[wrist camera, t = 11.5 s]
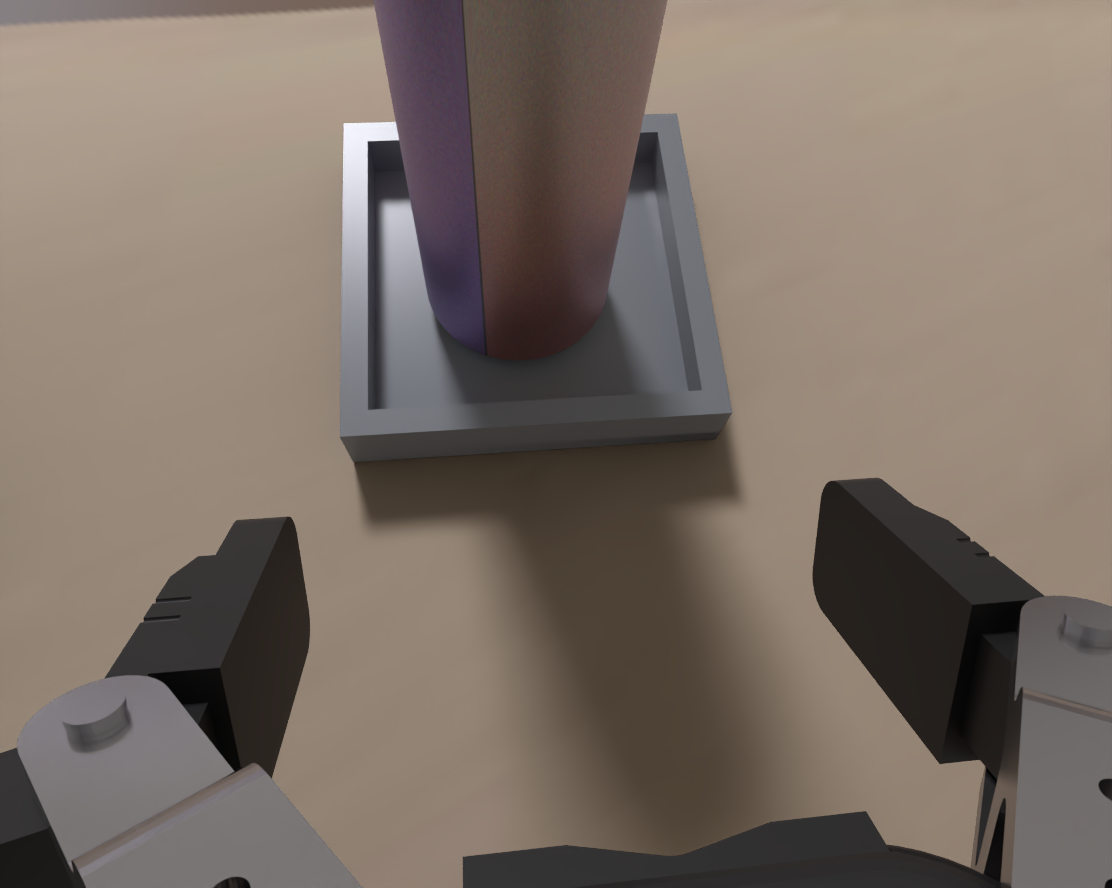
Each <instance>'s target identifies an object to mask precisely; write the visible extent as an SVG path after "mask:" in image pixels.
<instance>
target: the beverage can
mask: <svg viewBox="0 0 1112 888" xmlns="http://www.w3.org/2000/svg"><path fill="white" fill-rule="evenodd" d="M666 5H667V0H374V6H375V11H376V17H377V22H378V27H379V33H380V38H381V44H382V49H383V55H384V60H385V66H386V71H387V77H388V82H389V88H390V93H391V98H392V104H393V109H394V115H395V120H396V126H397V131H398V137H399V142H400V148H401V153H402V159H403V164H404V169H405V175H406V180H407V186H408V191H409V197H410V202H411V208H412V213H413V219H414V224H415V230H416V235H417V241H418V246H419V251H420V257H421V262H422V268H423V273H424V279H425V284H426V290H427V295H428V299H429V302H430V305H431V308H432V310H433V312H434V314H435V316H436V318H437V319H438V321H439V322H440V324H441V325H442V326H443V327H444V329H445V330H446V331H447V332H448V333H449V334H450V335H451V336H453V337H454V338H455V339H456V340H457V341H459V342H460V343H462V344H463V345H465V346H466V347H468V348H470V349H472V350H474V351H476V352H478V353H481V354H484V355H487V356H490V357H494V358H498V359H504V360H520V361H522V360H532V359H538V358H543V357H547V356H550V355H553V354H556V353H558V352H560V351H563V350H565V349H566V348H568V347H570V346H572V345H573V344H575V343H576V342H577V341H579V340H580V339H581V338H582V337H583V336H585V335H586V334H587V333H588V332H589V330H590V329H591V328H592V327H593V326H594V324H595V323H596V321H597V320H598V318H599V316H600V314H601V312H602V310H603V308H604V305H605V302H606V297H607V292H608V288H609V283H610V278H611V273H612V268H613V263H614V258H615V253H616V249H617V244H618V239H619V234H620V229H621V224H622V219H623V214H624V210H625V205H626V200H627V195H628V190H629V185H630V180H631V175H632V170H633V166H634V161H635V156H636V151H637V146H638V141H639V136H640V131H641V127H642V122H643V117H644V112H645V107H646V102H647V97H648V92H649V88H650V83H651V78H652V73H653V68H654V63H655V58H656V53H657V48H658V44H659V39H660V34H661V29H662V24H663V19H664V14H665V9H666Z"/></svg>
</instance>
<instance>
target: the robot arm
mask: <svg viewBox="0 0 1112 888" xmlns="http://www.w3.org/2000/svg"><path fill="white" fill-rule="evenodd" d="M813 586H814V592H815V596H816V599H817V602H818V604H819V606H820V608H821V610H822V611H823V613H824V614H825V615H826V617H827V618H828V619H829V621H830V622H831V623H832V625H833V626H834V627H835V628H836V630H837V631H838V632H839V634H840V635H841V636H842V638H843V639H844V640H845V641H846V643H847V644H848V645H849V647H850V648H851V649H852V651H853V652H854V653H855V654H856V656H857V657H858V658H859V660H860V661H861V662H862V664H863V665H864V666H865V667H866V669H867V670H868V671H869V673H870V674H871V675H872V677H873V678H874V679H875V680H876V682H877V683H878V684H879V686H880V687H881V688H882V690H883V691H884V692H885V693H886V695H887V696H888V697H889V699H890V700H891V701H892V703H893V704H894V705H895V706H896V708H897V709H898V710H899V712H900V713H901V714H902V716H903V717H904V718H905V719H906V721H907V722H908V723H909V725H910V726H911V727H912V729H913V730H914V731H915V732H916V734H917V735H918V736H919V738H920V739H921V740H922V742H923V743H924V744H925V745H926V747H927V748H928V749H929V751H930V752H931V753H932V755H933V756H934V757H935V758H936V760H937V761H938V762H939V764H944V763H953V762H962V761H971V760H981V761H982V763H983V764H984V765H985V769H984V773H983V778H982V782H981V786H980V791H979V800H978V808H977V817H976V826H975V834H974V843H973V851H972V860H971V868H969V867H966V866H964V865H961V864H959V863H956V862H954V861H951V860H949V859H946V858H943V857H939V856H936V855H933V854H930V853H926V852H923V851H919V850H914V849H909V848H904V847H900V846H893V845H886V844H885V842H884V840H883V839H882V837H881V835H880V834H879V832H878V830H877V829H876V827H875V825H874V824H873V822H872V821H871V819H870V817H869V816H868V814H867V812H866V811H864V812H855V813H846V814H837V815H829V816H820V817H811V818H802V819H793V820H784V821H776V822H770V823H767V824H764V825H762V826H759V827H756V828H754V829H751V830H748V831H746V832H743V833H740V834H738V835H735V836H732V837H730V838H727V839H724V840H722V841H719V842H716V843H714V844H711V845H708V846H706V847H703V848H700V849H698V850H695V851H692V852H690V853H687V854H683V855H679V856H661V855H652V854H642V853H633V852H624V851H614V850H605V849H596V848H587V847H577V846H568V845H564V846H555V847H546V848H537V849H528V850H520V851H511V852H502V853H493V854H484V855H475V856H467V857H463V888H1112V607H1111V606H1108V605H1105V604H1102V603H1099V602H1095V601H1091V600H1088V599H1082V598H1077V597H1069V596H1044V595H1043V594H1041V593H1040V592H1039V591H1038V590H1036V589H1035V588H1034V587H1032V586H1031V585H1030V584H1029V583H1027V582H1026V581H1025V580H1023V579H1022V578H1021V577H1020V576H1018V575H1017V574H1016V573H1015V572H1013V571H1012V570H1011V569H1009V568H1008V567H1007V566H1006V565H1004V564H1003V563H1002V562H1000V561H999V560H998V559H997V558H995V557H994V556H991V557H990V556H989V552H988V551H986V550H985V549H984V548H983V547H981V546H980V545H979V544H977V543H976V542H975V541H974V542H971V541H970V537H969V536H967V535H966V534H965V533H963V532H962V531H961V530H960V529H958V528H957V527H956V526H954V525H953V524H952V523H951V522H949V521H948V520H946V519H944V518H942V517H939V516H937V515H935V514H933V513H930V512H928V511H926V510H924V509H921V508H919V507H917V506H914V505H913V504H912V503H911V502H909V501H908V500H907V499H906V498H904V497H903V496H902V495H901V494H899V493H898V492H897V491H896V490H894V489H893V488H892V487H891V486H890V485H888V484H887V483H886V482H885V481H883V480H882V479H880V478H867V479H852V480H837V481H830V482H828V483H827V484H826V485H825V487H824V489H823V492H822V496H821V503H820V512H819V520H818V529H817V538H816V546H815V555H814V564H813ZM309 639H310V618H309V608H308V602H307V595H306V589H305V582H304V576H303V570H302V563H301V557H300V551H299V544H298V538H297V532H296V528H295V524H294V522H293V520H292V518H291V517H277V518H262V519H247V520H237V521H235V522H234V524H233V526H232V527H231V529H230V531H229V533H228V534H227V536H226V538H225V539H224V541H223V543H222V545H221V546H220V548H219V550H218V552H217V553H216V555H211V556H198V557H197V558H195V559H194V560H193V561H191V562H190V563H188V564H187V565H186V566H184V567H183V568H182V569H180V570H179V571H177V572H176V573H175V574H173V575H172V576H171V577H170V578H169V579H168V581H167V583H166V584H165V586H164V587H163V589H162V590H161V592H160V593H159V595H158V596H157V598H156V604H152V606H151V607H150V609H149V610H148V612H147V613H146V615H145V617H144V622H143V623H140V624H139V626H138V627H137V629H136V630H135V632H134V633H133V635H132V637H131V638H130V640H129V641H128V643H127V644H126V646H125V647H124V649H123V650H122V652H121V654H120V655H119V657H118V658H117V660H116V661H115V663H114V664H113V666H112V667H111V669H110V671H109V672H108V674H107V675H106V677H105V678H104V679H101V680H98V681H95V682H91V683H88V684H86V685H83V686H80V687H78V688H75V689H73V690H71V691H69V692H67V693H65V694H63V695H61V696H60V697H58V698H56V699H54V700H53V701H51V702H50V703H49V704H47V705H46V706H44V707H43V708H42V709H41V710H39V711H38V712H37V713H36V714H35V715H34V716H33V717H32V718H31V719H30V720H29V721H28V722H27V723H26V725H25V726H24V728H23V729H22V731H21V733H20V735H19V738H18V742H17V748H15V749H12V750H9V751H6V752H3V753H0V888H363V887H362V886H361V885H360V884H359V883H358V881H357V880H356V879H355V878H354V877H353V876H352V874H351V873H350V872H349V871H348V870H347V868H346V867H345V866H344V865H343V864H342V862H341V861H340V860H339V859H338V858H337V856H336V855H335V854H334V853H333V852H332V850H331V849H330V848H329V847H328V846H327V844H326V843H325V842H324V841H323V840H322V839H321V837H320V836H319V835H318V834H317V833H316V831H315V830H314V829H313V828H312V827H311V825H310V824H309V823H308V822H307V821H306V819H305V818H304V817H303V816H302V815H301V813H300V812H299V811H298V810H297V809H296V807H295V806H294V805H293V804H292V803H291V802H290V800H289V799H288V798H287V797H286V796H285V794H284V793H283V792H282V791H281V790H280V788H279V787H278V786H277V785H276V784H275V782H274V781H273V780H272V775H273V772H274V769H275V765H276V762H277V758H278V755H279V751H280V748H281V744H282V741H283V737H284V734H285V730H286V727H287V723H288V720H289V716H290V713H291V709H292V706H293V702H294V699H295V695H296V692H297V688H298V685H299V681H300V678H301V674H302V671H303V667H304V664H305V660H306V657H307V653H308V648H309Z"/></svg>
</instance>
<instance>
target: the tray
mask: <svg viewBox="0 0 1112 888" xmlns="http://www.w3.org/2000/svg"><path fill="white" fill-rule="evenodd" d="M731 414H732V409H731V403H730V398H729V392H728V387H727V382H726V376H725V371H724V365H723V360H722V355H721V349H720V344H719V339H718V333H717V328H716V322H715V317H714V312H713V306H712V301H711V295H710V290H709V285H708V279H707V274H706V268H705V263H704V258H703V252H702V247H701V241H700V236H699V231H698V225H697V220H696V214H695V209H694V204H693V198H692V193H691V187H690V182H689V177H688V171H687V166H686V161H685V155H684V150H683V144H682V139H681V134H680V128H679V123H678V117H677V114H648V115H644V117H643V122H642V127H641V131H640V136H639V141H638V146H637V151H636V156H635V161H634V166H633V170H632V175H631V180H630V185H629V190H628V195H627V200H626V205H625V210H624V214H623V219H622V224H621V229H620V234H619V239H618V244H617V249H616V253H615V258H614V263H613V268H612V273H611V278H610V283H609V288H608V292H607V297H606V302H605V305H604V308H603V310H602V312H601V314H600V316H599V318H598V320H597V321H596V323H595V324H594V326H593V327H592V328H591V329H590V330H589V332H588V333H587V334H586V335H585V336H583V337H582V338H581V339H580V340H579V341H577V342H576V343H575V344H573V345H572V346H570V347H568V348H566V349H565V350H563V351H560V352H558V353H556V354H553V355H550V356H547V357H543V358H538V359H532V360H522V361H520V360H504V359H498V358H494V357H490V356H487V355H484V354H481V353H478V352H476V351H474V350H472V349H470V348H468V347H466V346H465V345H463V344H462V343H460V342H459V341H457V340H456V339H455V338H454V337H453V336H451V335H450V334H449V333H448V332H447V331H446V330H445V329H444V327H443V326H442V325H441V324H440V322H439V321H438V319H437V318H436V316H435V314H434V312H433V310H432V308H431V305H430V302H429V299H428V295H427V290H426V284H425V279H424V273H423V268H422V262H421V257H420V251H419V246H418V241H417V235H416V230H415V224H414V219H413V213H412V208H411V202H410V197H409V191H408V186H407V180H406V175H405V169H404V164H403V159H402V153H401V148H400V142H399V137H398V131H397V126H396V122H380V123H346V124H344V147H343V226H342V306H341V385H340V438H341V440H342V442H343V444H344V445H345V447H346V449H347V451H348V453H349V455H350V457H351V458H352V460H353V462H362V461H378V460H394V459H409V458H425V457H441V456H456V455H472V454H488V453H503V452H519V451H535V450H550V449H566V448H582V447H598V446H613V445H629V444H645V443H660V442H676V441H692V440H707V439H716V437H717V436H718V434H719V433H720V431H721V430H722V428H723V427H724V425H725V423H726V422H727V420H728V419H729V417H730V416H731Z"/></svg>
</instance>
